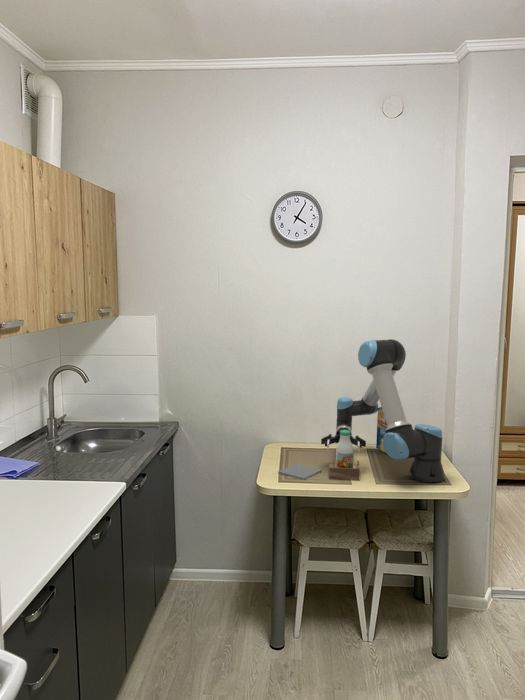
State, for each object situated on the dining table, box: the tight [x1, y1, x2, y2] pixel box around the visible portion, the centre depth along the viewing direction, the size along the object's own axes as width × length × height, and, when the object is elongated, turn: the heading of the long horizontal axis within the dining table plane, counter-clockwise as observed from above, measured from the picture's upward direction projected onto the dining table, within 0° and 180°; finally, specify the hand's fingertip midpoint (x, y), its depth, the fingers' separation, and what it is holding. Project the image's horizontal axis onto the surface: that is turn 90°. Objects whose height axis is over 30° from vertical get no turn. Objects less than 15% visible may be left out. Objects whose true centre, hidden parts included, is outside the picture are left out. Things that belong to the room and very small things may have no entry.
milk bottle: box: [335, 430, 354, 468], centre depth 257 cm, size 8×8×20 cm
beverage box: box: [376, 406, 387, 454], centre depth 290 cm, size 7×11×22 cm, turn 35°
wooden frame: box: [328, 458, 360, 481], centre depth 257 cm, size 12×13×5 cm
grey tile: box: [277, 463, 322, 481], centre depth 261 cm, size 14×14×1 cm
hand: (343, 447), depth 257 cm, fingers open, 13 cm apart
